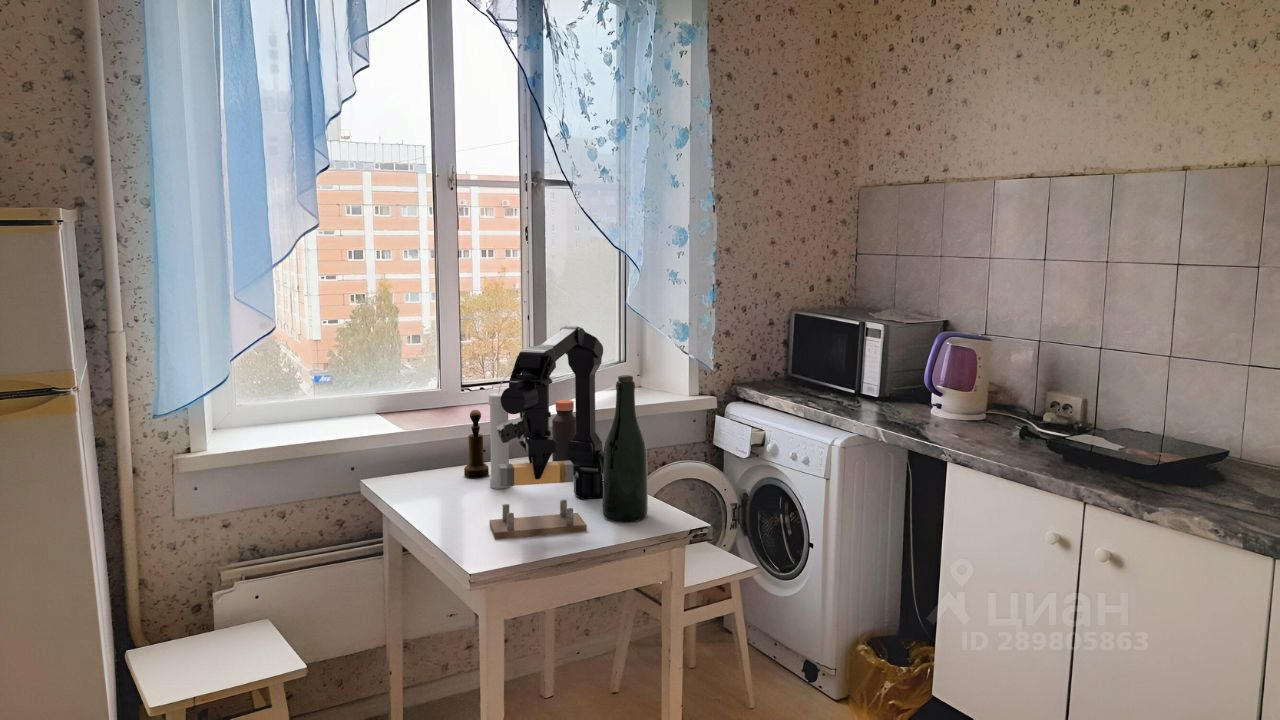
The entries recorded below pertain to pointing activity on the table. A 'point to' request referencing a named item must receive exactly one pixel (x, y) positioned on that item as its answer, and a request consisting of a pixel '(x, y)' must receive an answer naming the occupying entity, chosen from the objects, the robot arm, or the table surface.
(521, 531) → the rack
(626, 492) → the green wine bottle
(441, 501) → the table surface
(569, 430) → the vinegar
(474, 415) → the pepper mill
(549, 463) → the bar
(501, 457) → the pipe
